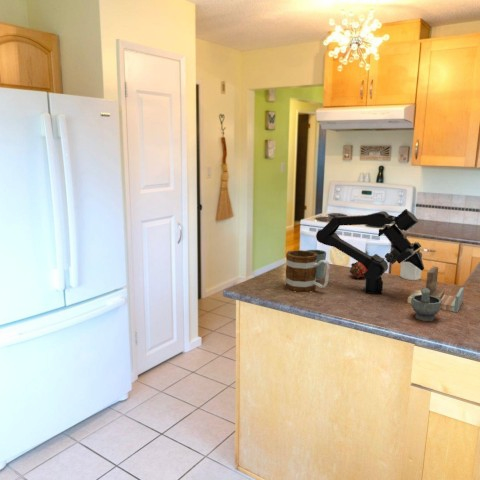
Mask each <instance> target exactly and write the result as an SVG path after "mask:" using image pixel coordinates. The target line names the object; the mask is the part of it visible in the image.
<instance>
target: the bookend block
mask: <svg viewBox="0 0 480 480" xmlns="http://www.w3.org/2000/svg"><path fill="white" fill-rule="evenodd" d="M438 275H439V266H432V267H431V268H429V270H428V271H427V275H426V283H425V284H426V285H425V288H427V289H429V290H430V294H429V295H430V296H434V297H437V298H439V299H442V298H443V296H444V295H445V290H443V289H437V287H438V286H437V285H438V284H437V283H438Z"/></svg>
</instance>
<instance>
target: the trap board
mask: <svg viewBox="0 0 480 480" xmlns="http://www.w3.org/2000/svg"><path fill="white" fill-rule="evenodd" d="M414 295H422V293H421V290H418V289H414V291H412V293H411V294H410V295H409V296H408V297H407V303H408V304H411V299H412V297H413V296H414ZM455 299H456V296H454V295H449V294H448V295H447V294H444V296H443V298H442V299H441V300H442V303H441V307H440V310H443V311H449V312H454V308H455Z"/></svg>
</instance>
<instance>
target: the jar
mask: <svg viewBox="0 0 480 480" xmlns="http://www.w3.org/2000/svg"><path fill="white" fill-rule="evenodd" d="M420 254H421V258H422V261H423V260H424V259H423V252H421V251H420ZM405 260H406V259H405ZM399 272H400V274H399V277H401V278H403V280H409V281H418V280H420V279H421V278H422V270H420V269H419V268H418V267H416V266H415V265H413V264H412V263H410V262H403V261H402V262H401V263H400V271H399Z"/></svg>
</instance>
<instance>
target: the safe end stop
mask: <svg viewBox="0 0 480 480" xmlns="http://www.w3.org/2000/svg"><path fill="white" fill-rule="evenodd" d="M464 291H465V287H464V286H463V287H460V289H459V290H458V292H457V294H455V297H456V299H455V308H454V311H453V312H454V313H458V311H459V310H460V308H461V306H462V304H463V299H464Z"/></svg>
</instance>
